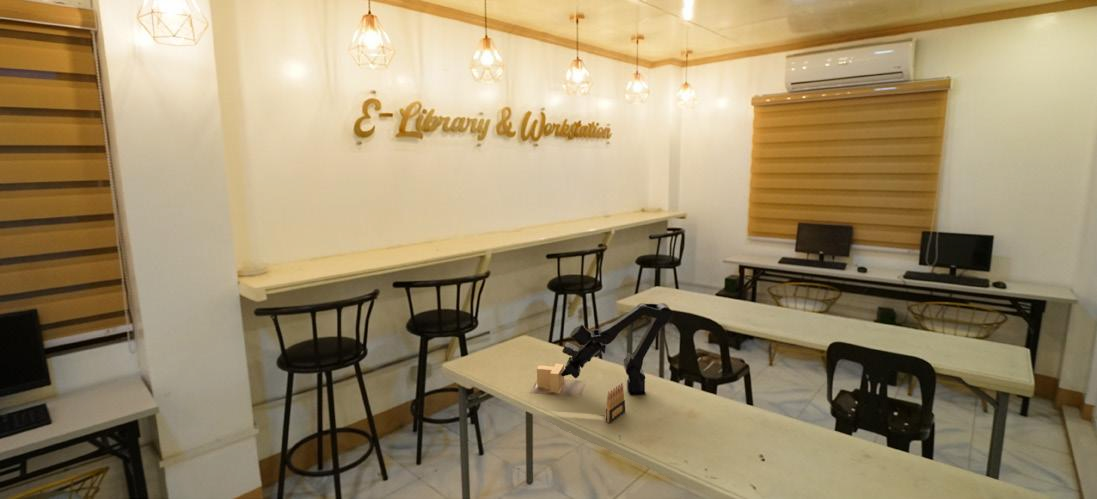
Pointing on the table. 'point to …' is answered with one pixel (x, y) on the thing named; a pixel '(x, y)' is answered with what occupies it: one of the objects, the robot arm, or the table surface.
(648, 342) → the robot arm
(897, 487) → the table surface
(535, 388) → the board
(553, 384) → the t block
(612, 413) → the ammunition clip
